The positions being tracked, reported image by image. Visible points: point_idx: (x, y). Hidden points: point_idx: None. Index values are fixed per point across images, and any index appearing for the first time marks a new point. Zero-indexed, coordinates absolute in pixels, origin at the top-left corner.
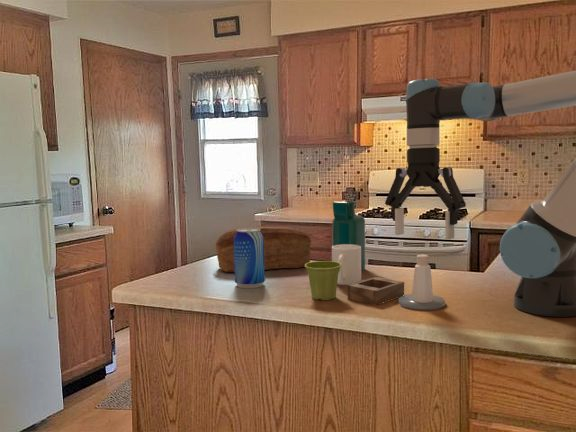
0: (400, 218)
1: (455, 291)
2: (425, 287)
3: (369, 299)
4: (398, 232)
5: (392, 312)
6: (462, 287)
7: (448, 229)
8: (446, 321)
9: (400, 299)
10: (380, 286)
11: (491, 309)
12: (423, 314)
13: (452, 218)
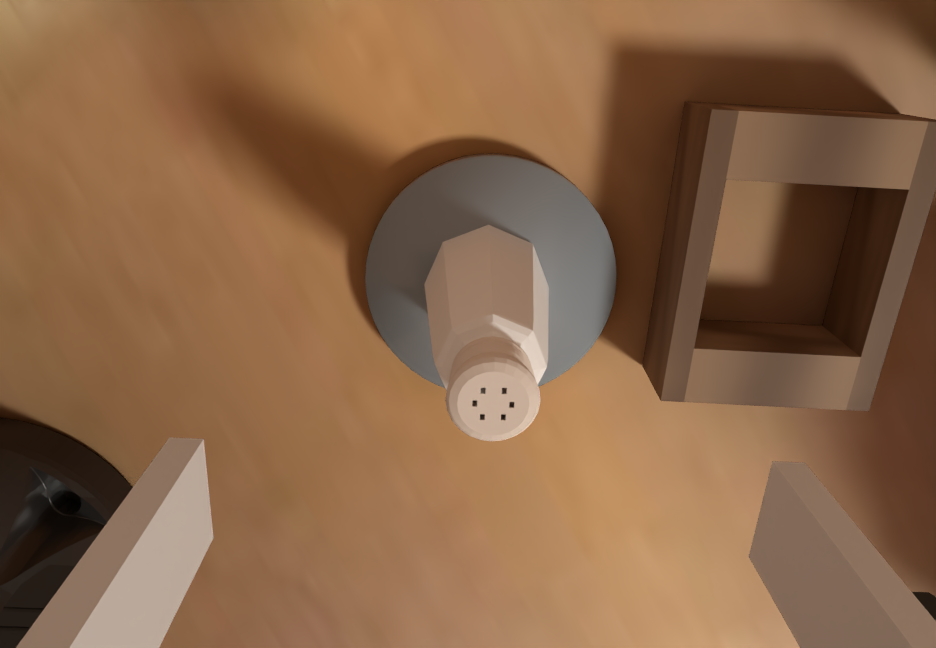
0: (847, 639)
1: (461, 560)
2: (445, 274)
3: (746, 107)
4: (780, 486)
5: (541, 28)
6: (467, 632)
7: (123, 500)
8: (227, 65)
9: (589, 220)
10: (788, 339)
11: (180, 388)
12: (385, 105)
13: (18, 624)
